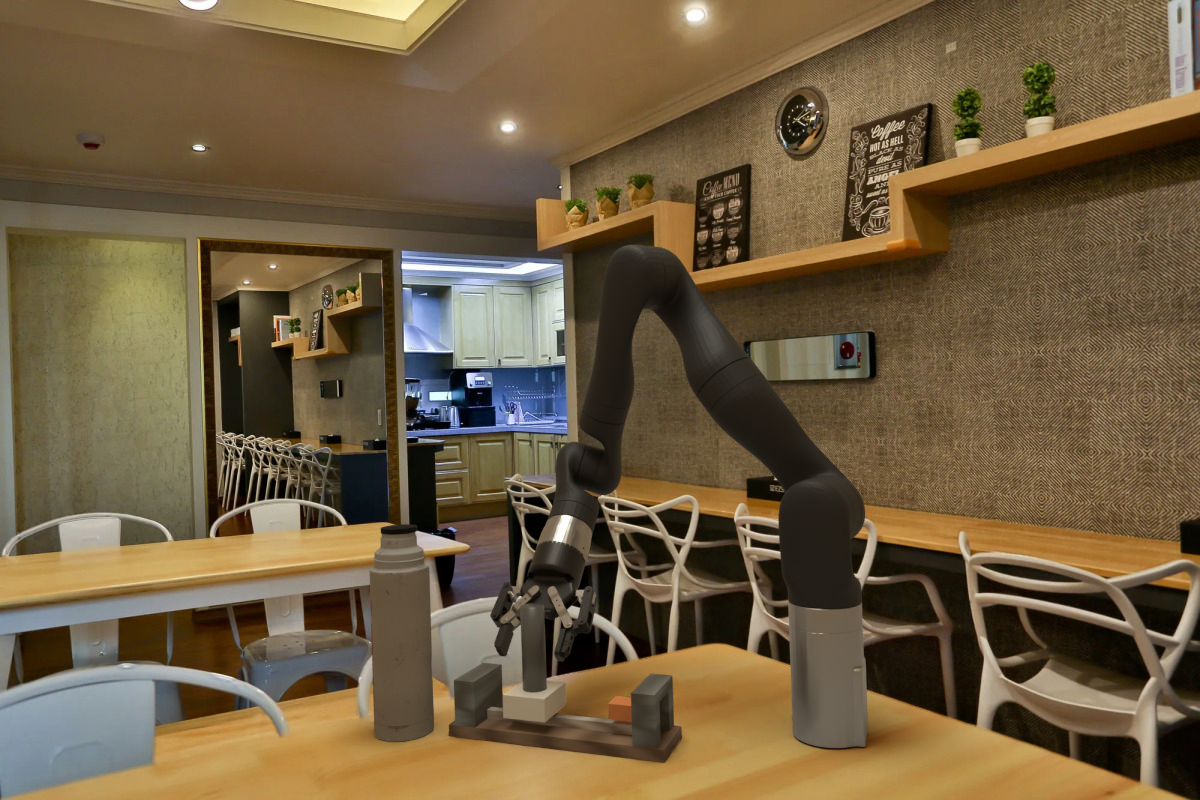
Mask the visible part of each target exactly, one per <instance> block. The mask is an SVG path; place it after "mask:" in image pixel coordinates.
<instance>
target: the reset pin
mask: <svg viewBox="0 0 1200 800" xmlns="http://www.w3.org/2000/svg"><path fill="white" fill-rule="evenodd" d="M607 709H608V713H607V714H608V715H607V716H608V718H609V720H619V721H628V722H632V713H631V696H630V697H629V696H623V695H622V696H620V695H616V696H615V697H614V698H612V699H611V700H610V701H609V702H608V704H607Z"/></svg>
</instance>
